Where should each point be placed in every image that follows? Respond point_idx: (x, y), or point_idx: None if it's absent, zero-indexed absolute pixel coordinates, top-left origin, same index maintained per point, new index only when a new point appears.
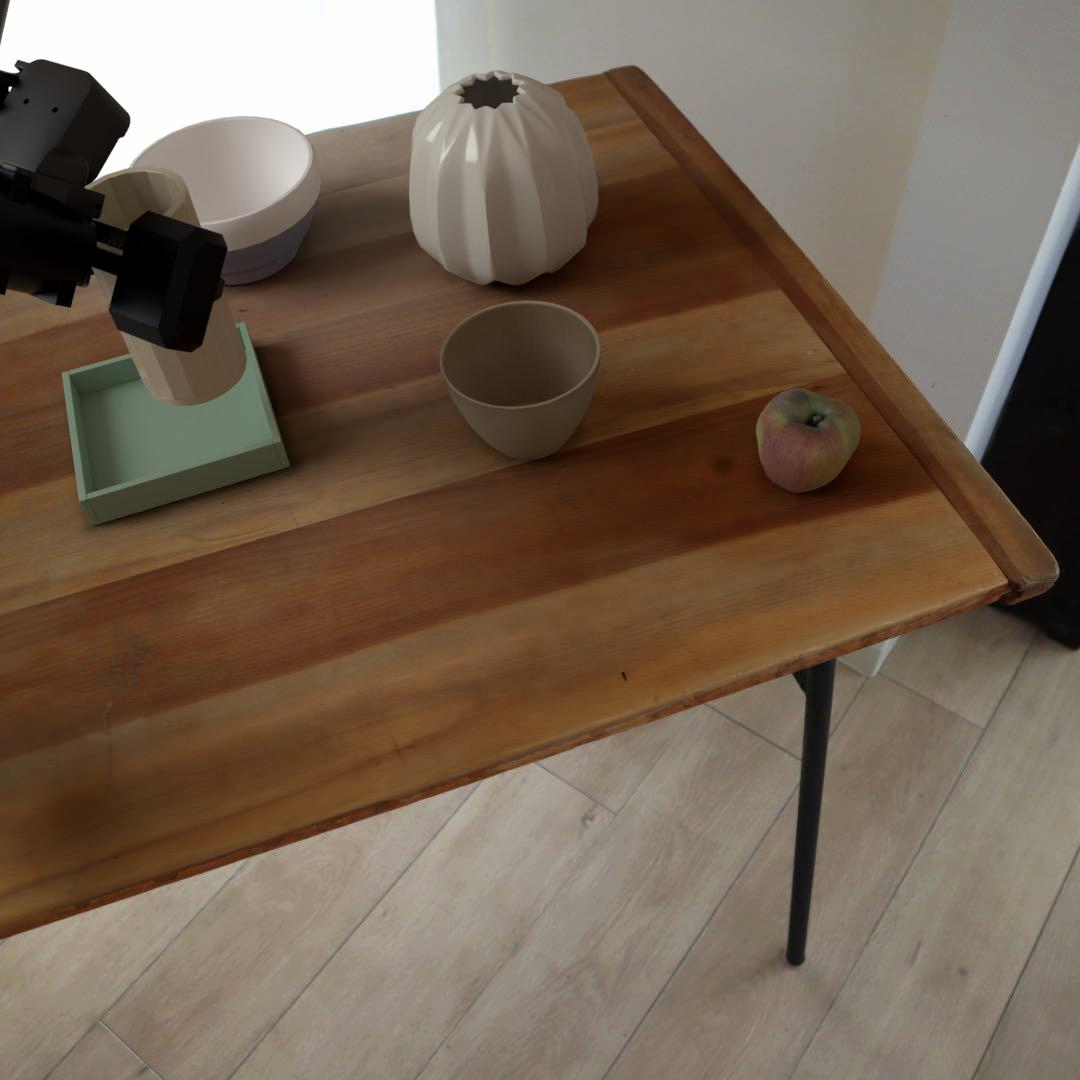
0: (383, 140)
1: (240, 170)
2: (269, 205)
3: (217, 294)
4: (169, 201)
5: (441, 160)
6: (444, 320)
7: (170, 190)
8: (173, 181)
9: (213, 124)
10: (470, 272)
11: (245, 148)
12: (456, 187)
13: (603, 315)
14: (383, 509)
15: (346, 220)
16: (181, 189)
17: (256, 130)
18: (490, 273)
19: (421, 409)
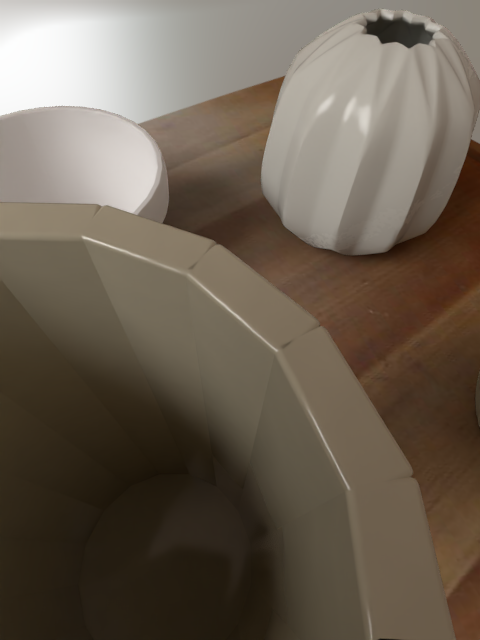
0: (162, 129)
1: (52, 170)
2: (137, 212)
3: None
4: (110, 335)
5: (374, 123)
6: (332, 299)
7: (126, 305)
8: (179, 280)
9: (10, 120)
10: (354, 247)
11: (53, 145)
12: (383, 157)
13: (466, 265)
14: (454, 612)
15: (170, 206)
16: (300, 346)
17: (63, 123)
18: (385, 247)
19: (387, 423)
